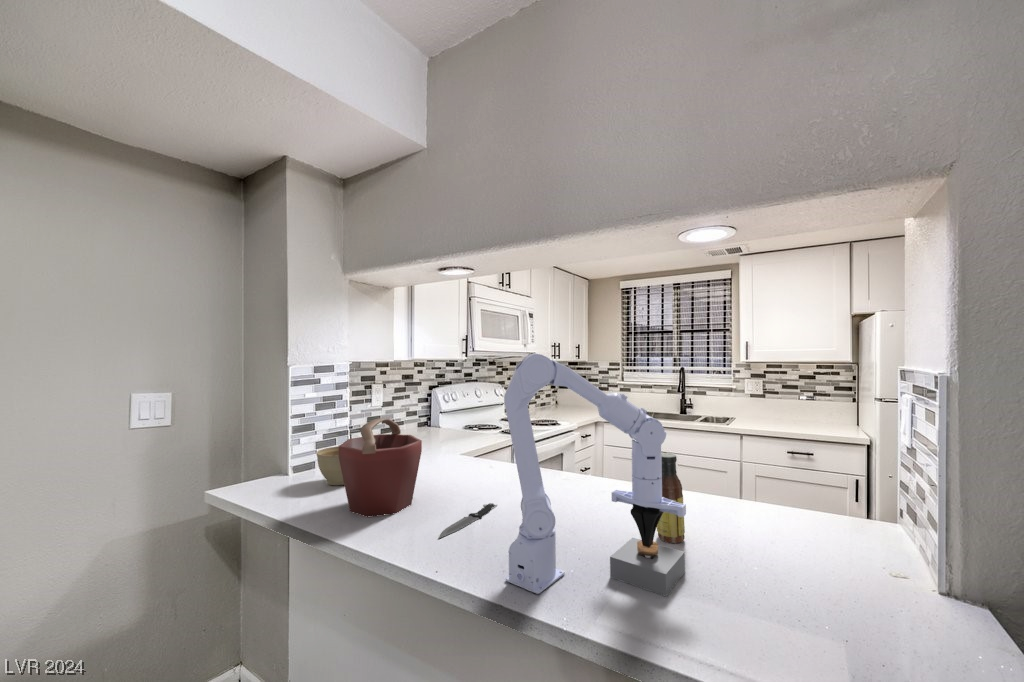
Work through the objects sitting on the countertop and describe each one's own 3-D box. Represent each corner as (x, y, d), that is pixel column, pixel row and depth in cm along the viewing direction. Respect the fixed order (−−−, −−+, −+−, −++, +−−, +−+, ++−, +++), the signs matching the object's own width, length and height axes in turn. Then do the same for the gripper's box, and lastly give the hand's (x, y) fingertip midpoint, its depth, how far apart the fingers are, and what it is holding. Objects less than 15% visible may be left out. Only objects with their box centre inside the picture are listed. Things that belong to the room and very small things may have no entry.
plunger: (654, 579, 84) (653, 550, 84) (634, 572, 87) (633, 545, 87) (661, 571, 87) (661, 543, 87) (642, 565, 90) (641, 538, 90)
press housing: (666, 596, 79) (665, 574, 79) (610, 577, 86) (610, 556, 86) (685, 571, 88) (684, 551, 88) (632, 556, 95) (632, 537, 95)
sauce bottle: (675, 532, 107) (674, 450, 107) (690, 543, 101) (689, 457, 101) (650, 534, 106) (649, 452, 106) (664, 546, 99) (662, 458, 100)
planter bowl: (375, 481, 150) (375, 449, 150) (329, 492, 138) (329, 458, 139) (353, 472, 161) (353, 442, 161) (308, 482, 149) (308, 450, 150)
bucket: (384, 527, 111) (384, 428, 112) (316, 516, 119) (316, 424, 119) (434, 496, 134) (433, 415, 135) (374, 489, 142) (374, 411, 142)
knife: (427, 538, 105) (443, 542, 103) (427, 534, 105) (443, 538, 103) (487, 504, 128) (501, 507, 125) (487, 501, 128) (501, 504, 125)
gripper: (690, 477, 86) (691, 547, 86) (621, 465, 95) (622, 528, 95) (678, 486, 80) (679, 560, 80) (606, 473, 89) (607, 539, 89)
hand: (647, 544), depth 87 cm, fingers closed, pressing on plunger
